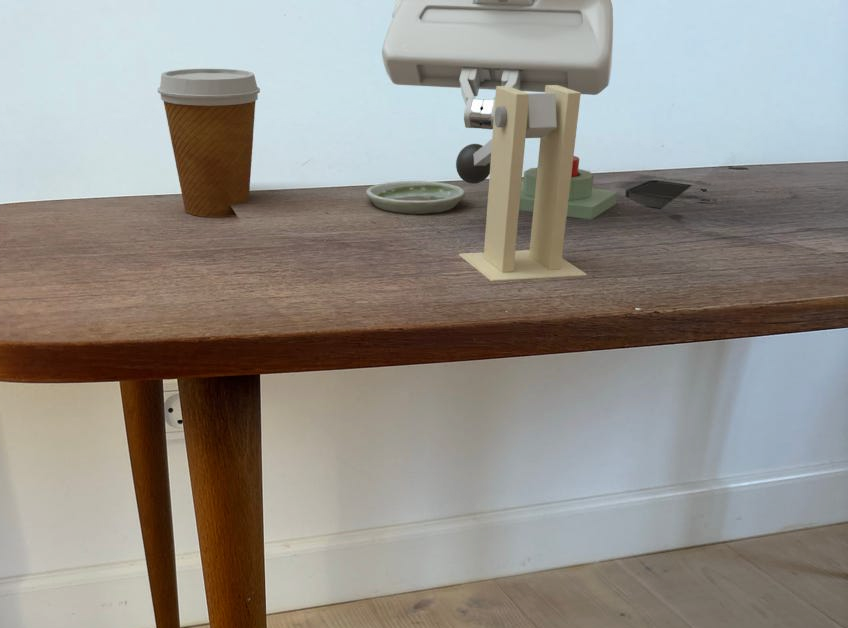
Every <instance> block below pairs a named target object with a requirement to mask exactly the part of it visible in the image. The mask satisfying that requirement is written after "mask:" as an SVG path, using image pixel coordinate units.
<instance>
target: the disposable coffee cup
mask: <svg viewBox="0 0 848 628" xmlns="http://www.w3.org/2000/svg"><path fill="white" fill-rule="evenodd" d="M159 86H160V87H158V88H157V93H158V94H160V100H161V101H163V105H164V110H165V116H166V120H167V126H168V131H169V136H170V141H171V147H172V149H173V150H172V151H173V155H174V157H173V158H174V162H175V167H176V172H177V176H178V182H179V187H180V191H181V196H182V197H181V198H182V202H183V208H184V211H185V212H186V213H188V214H190V215H192V216H197V217H206V218H224V217H232V216H237V213H236V212H235V210H234V208H233V207H232V206H234V205H239V204H243V203H246V202H247V201H249V200H250V190H251V189H250V188H251V174H252V158H253V145H254V130H255V128H254V127H255V114H256V113H255V112H256V101H257V100H258V99H259V93H260V92H261V88H260V87H258V84H257V81H256V76H255V73H253V72H251V71H249V70H242V69H230V68H185V69H183V68H182V69H173V70H167V71H164V72H162V73H161V75H160V85H159Z"/></svg>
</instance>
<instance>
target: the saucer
mask: <svg viewBox="0 0 848 628" xmlns="http://www.w3.org/2000/svg"><path fill="white" fill-rule="evenodd" d="M365 196H366V198H368V199H369V200H370V201H371V202H372V204H373V205H374V206H375V207H376V208H378V209H379V210H383V211H387V212H393V213H398V214H399V213H400V214H412V215H413V214H414V215H421V214H422V215H423V214H425V215H426V214H437V213H442V212H448V211H450V210H452V209H453V208H455V207H456V206H457V205H458V204H459V203H460V201H461V200H463V199H464V198H465V197H466V191H465V189H463V188H462V187H461V186H457V185H454V184H451V183H446V182H439V181H427V180H402V181H401V180H400V181H390V182H384V183H378V184H375V185H372V186H369V187H368V188H367V189H366V190H365ZM400 198H401V199H400ZM402 198H422V199H426V200H410V199H409V200H405V199H402ZM427 199H428V200H427Z"/></svg>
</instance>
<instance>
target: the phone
mask: <svg viewBox="0 0 848 628" xmlns="http://www.w3.org/2000/svg"><path fill="white" fill-rule="evenodd" d="M691 187H693V184H689V183H681V182H674V181H666V180H658V179H650V180H646V181H644V182H640V183H639V184H636V185H633V186H631V187H628V188H626V189H625V195H624V197H625V198H628V199H630V200H631V201H634V202H636V203H638V204H640V205H642V206H644V207H650V208H656V209H663V208H664V207H666V206H667V205H668V204H669V203H671V202H672V201H674V200H675V199H676V198H678V197H679V196H681V195H682V194H683V193H684V192H686V191H687V190H688V189H690V188H691Z"/></svg>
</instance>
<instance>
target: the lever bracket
mask: <svg viewBox="0 0 848 628" xmlns="http://www.w3.org/2000/svg"><path fill="white" fill-rule="evenodd" d="M544 93H555V100H556V122H557V127H556V128H555V129H554V130H552V131H551V132H549V133H548V134H547V135H545V136H544V137H543V138H539V139H540V140H539V148H538V149H539V150H538V159H537V168H538V169H537V179H536V190H535V200H534V210H533V212H532V220H531V221H532V223H531V232H530V242H529V249H522V250H521V249H520V250H516V249H517V236H518V225H519V214H520V210H519V204H520V193H521V182H522V181H523V172H524V170H523V169H524V157H525V148H526V138H525V137H526V126H527V115H528V104H529V93H528V92H526V91H520V90H517V89H515V88H512V87H509V86H496V90H495V96H494V97H495V109H494V123H493V129H492V137H491V139H492V150H491V164H490V174H489V176H488V179H489V180H488V191H487V192H488V193H487V205H486V206H487V207H486V217H485V218H486V221H485V234H484V246H483V247H484V249H483V252H465V253H459V254H458V256H459V257H460V258H462V259H463V260H464V261H466V262H467V263H468V264H469V265H470V266H472V267H473V268H474V269H476V270H477V271H478V272H479V273H480V274H481V275H482V276H484V278H486V279H487V280H488V281H490V282H491V283H493V282H510V281H512V282H513V281H526V280H542V279H543V280H544V279H561V278H577V277H588V274H587V273H586V272H584V271H583V270H581V269H579V268H578V267H576V266H575V265H574V264H572V263H570V262H569V261H568V260H566V259H565V258H563V254H564V253H563V251H564V243H565V235H566V226H567V219H568V216H567V209H568V200H569V191H570V183H571V174H572V165H573V156H575V146H576V145H575V144H576V138H577V128H578V120H579V112H580V105H581V104H580V103H581V95H582V94H581V93H580V92H577V91H574V90H571V89H568V88H565V87H562V86H559V85H546V86H545V92H544Z"/></svg>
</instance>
